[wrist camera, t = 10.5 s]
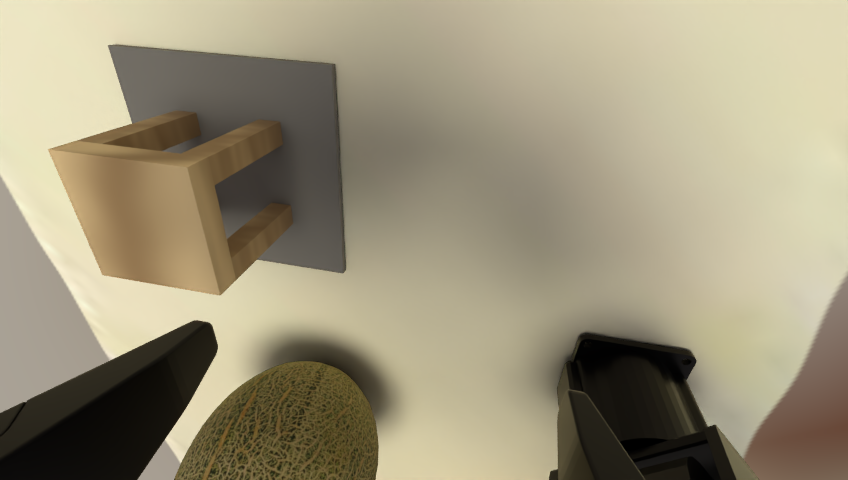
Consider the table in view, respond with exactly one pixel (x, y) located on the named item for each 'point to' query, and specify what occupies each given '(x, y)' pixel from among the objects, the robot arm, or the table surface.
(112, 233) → the stool
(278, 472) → the fruit
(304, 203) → the mat
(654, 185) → the table surface
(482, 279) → the table surface
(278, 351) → the table surface
